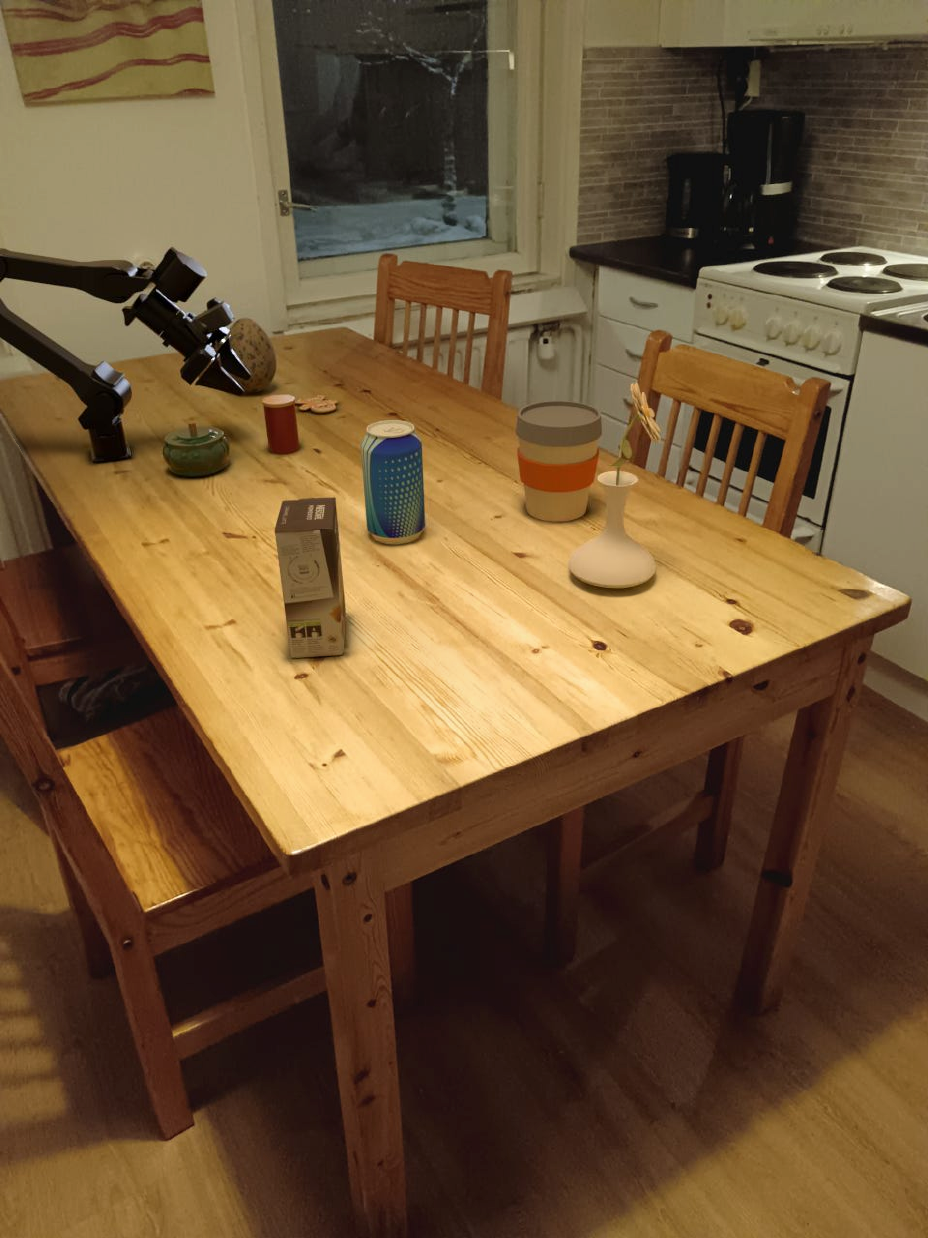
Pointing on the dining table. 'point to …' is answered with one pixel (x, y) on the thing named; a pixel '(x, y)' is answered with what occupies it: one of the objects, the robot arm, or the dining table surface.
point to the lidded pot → (196, 451)
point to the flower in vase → (617, 522)
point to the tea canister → (281, 424)
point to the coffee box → (311, 576)
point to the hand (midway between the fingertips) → (246, 385)
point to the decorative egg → (253, 354)
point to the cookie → (317, 404)
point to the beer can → (393, 481)
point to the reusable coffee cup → (558, 457)
